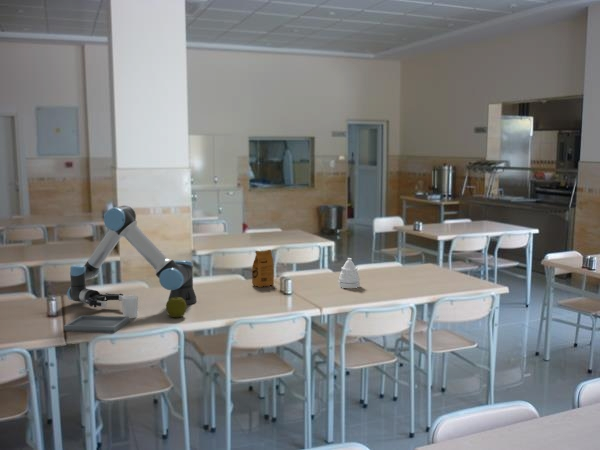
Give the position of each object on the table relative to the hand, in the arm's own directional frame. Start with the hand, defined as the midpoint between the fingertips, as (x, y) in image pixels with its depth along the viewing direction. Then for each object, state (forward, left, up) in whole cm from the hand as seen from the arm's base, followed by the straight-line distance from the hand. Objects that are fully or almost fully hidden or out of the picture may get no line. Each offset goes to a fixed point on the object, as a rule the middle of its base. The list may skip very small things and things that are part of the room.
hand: (117, 302), depth 307 cm
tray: (+1, +22, -6) cm, 23 cm away
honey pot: (-115, -75, -6) cm, 138 cm away
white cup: (-8, +5, -6) cm, 11 cm away
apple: (-31, +2, -6) cm, 32 cm away
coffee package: (-62, -74, -6) cm, 97 cm away
